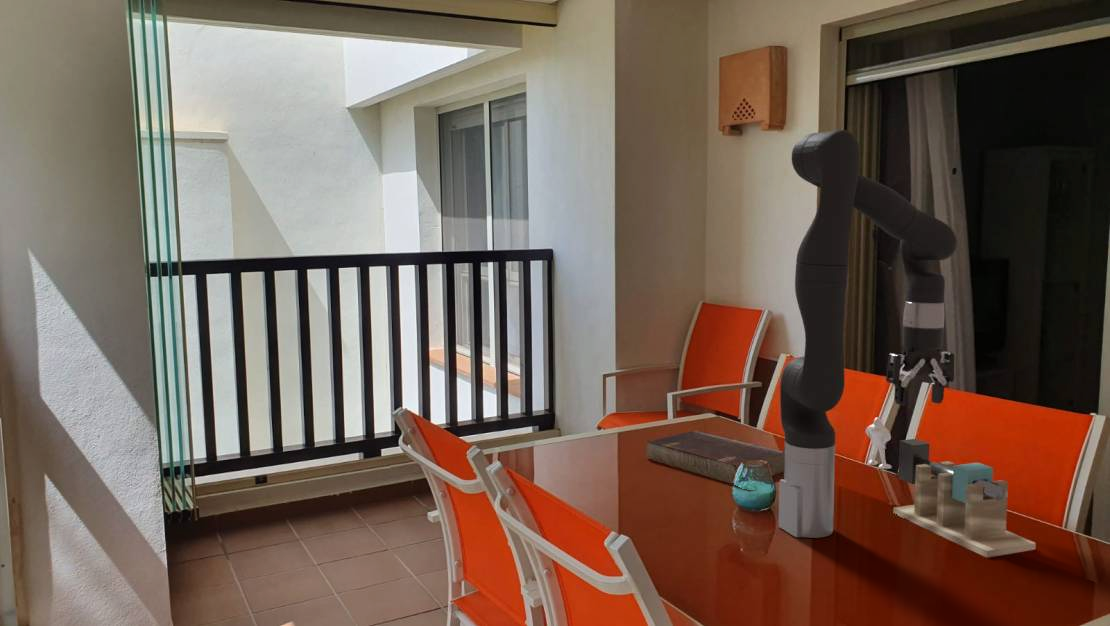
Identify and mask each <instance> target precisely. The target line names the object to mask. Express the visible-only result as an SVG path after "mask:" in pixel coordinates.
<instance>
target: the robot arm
mask: <svg viewBox="0 0 1110 626" xmlns="http://www.w3.org/2000/svg"><path fill="white" fill-rule="evenodd" d="M861 158H862V157H861V148H860V143H859V142H858V139H857V137H856V136H855V135H854V134H853V132H850V131H849V130H846V129H845V130H844V129H839V130H837V129H835V130H829V131H822V132H821V131H820V132H814V133H813V132H812V133H809V134H806V135H804V136H802V137H800V138H799V139H798V140H797V141H796V143H795V144H794V146H793V147H792V152H791V163H792V164H791V165H792V166H793V170H794V171H795V173H796V175H798V177H800V178H801V179H802V180H804V181H806V182H807V183H809V184H811V185H813V186H815V187H818V188H819V200H818V201H819V202H818V207H817V210H816V213H815V216H814V217H813V220H812V222H811V224H810V225H809V227H808V230H807V231H806V232H805V235H804V237H803V239H802V241H801V243H800V245H799V247H798V251H797V253H796V259H795V260H796V263H795V274H794V275H795V277H794V291H795V299H796V302H797V305H798V310H799V312H800V315H801V319H802V324H803V329H804V337H805V338H804V339H805V341H804V355H803V356H799V357H796V358H794V359H792V360H791V361H789V362H788V363H787V364H786V366H785V367H784V368H783V371H782V374H781V377H780V387H779V389H780V391H779V393H780V396H779V399H780V400H779V401H780V422H781V427H782V430H783V432H784V472H783V478H782V479H779V481H778V482H779V484H778V485H779V489H778V492H779V493H778V528H780V529H782V530H783V531H785V532H787V533H788V534H789V535H791V536H793V537H795V538H814V539H819V538H825V537H829V536H830V535H831V536H832V534H833V532H834V506H835V505H834V501H835V499H834V498H835V497H834V496H835V495H834V494H835V464H836V463H835V457H836V456H835V455H836V454H835V453H836V431H835V429H834V427H833V425H832V424H831V422H830V421H829V418H828V416H827V412H829V411H832V410H833V409H835V407H836V406H837V405H838V404H839V403H840V401H841V399H842V396H843V394H844V391H845V380H846V379H845V358H844V357H845V356H844V330H845V329H844V328H845V313H846V312H845V311H846V297H847V295H846V294H847V285H848V276H849V275H848V274H849V273H848V272H849V252H850V251H849V249H850V240H851V239H850V237H851V227H852V220H853V219H852V218H853V211H854V210H853V209H855V210H856V211H858V212H859V213H861V214H862V215H863V216H865V217H866V218H867V219H869V220H870V221H871V222H872V223H874V224H875V225H876V226H877V227H879V228H880V229H881V230H882V231H884V232H885V233H886V234H888V236H891V237H892V238H895V239H896V240H900V241H899V242H900V244H899V252H900V256H901V262H902V266H903V270H904V271H903V272H904V274H905V278H906V286H905V287H906V288H905V289H906V290H905V291H906V292H905V304H904V309H903V319H902V320H903V321H902V322H903V323H902V338H901V339H902V340H901V341H902V342H901V345H902V347H903V350H902V354H900V353H899V354H897V353H892V352H890V353H889V354H888V359H887V365H886V366H887V367H886V378H885V379H886V380H885V381H886V383H890V384H892V385H894V397H893V398H894V401H895V403H896V405H899V406H906V403H907V389H908V387H907V384H909V382H910V381H911V380H912V379H914V378H915V376H921V375H926V376H929V378H931V380H932V382H933V383H932V384H931V385H932V386H931V403H934V404H942V402H943V401H944V397H945V386H946V384H947V383H953V382H954V381H955V354H954V353H953V352H950V351H942V352H941V349H943V345H944V332H945V331H944V329H945V328H944V327H945V289H946V288H945V287H946V284H945V283H946V281H945V277H944V275H943V274H941V273H939V272H936V271H934V270H932V268H931V266H930V265H931V264H930V261H944V260H947V259H949V258H950V257H952V256H953V255H954V253H955V251H956V250H957V245H958V241H957V237H956V234H955V232H954V231H953V229H952V227H950V226H949V225H948V224H947V223H945V222H944V221H941V220H940V219H939V218H937V217H935V216H932V215H930V214H928V213H926V212H923V211H922V210H920V209H917V207H916V206H914V204H912V203H911V202H910V201H909V200H907V199H906V198H905V197H903V195H901V194H900V193H899V192H897V191H896V190H894V189H892V188H891V187H889V186H887V185H884V184H883V183H880V182H878V181H875V180H874V179H871V178H869V177H867V176H864V175H862V174H861V173H860V168H861ZM939 363H940V366H939ZM902 364H903V365H902Z"/></svg>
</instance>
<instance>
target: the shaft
mask: <svg viewBox="0 0 1110 626" xmlns="http://www.w3.org/2000/svg"><path fill="white" fill-rule="evenodd" d="M898 444H899V446H898V452H899V453H898V475H897V477H898V479H899V480H901V481H903V482H906V483H909V484H911V485H915V478H916V465H922V464H927V465H929V466H931V476H937V477H938V474H941V473H950V474H953V469H951V468H948V467H945V466H943V465H940V464H939V463H936V462H934V461H931V460H930V443H929V442H927V441H924V440H920V439H917V438H909V439H902V440H901V439H900V440H899V443H898ZM975 483H977V484H980V485H982V486H983V495H986V496H989V497H991V498H994V499H996V500H1002V499H1003V498H1004V497H1005V494H1006V491H1005V489H1004V488H1002V487H1000V486H997V485H994V484H991V483H989V482H986V481H983V480H976V481H973V484H975Z"/></svg>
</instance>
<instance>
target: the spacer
mask: <svg viewBox="0 0 1110 626" xmlns="http://www.w3.org/2000/svg"><path fill="white" fill-rule="evenodd" d="M993 477H994V467H992V466H989V465H986V464H984V463H980V462H971V463H965V464H963V463H962V464H955V466H953V487H952V498H954V499H956V500H959V501H961V502H964V503H966V486H967V485H968V484H973V481H976V480H983V481H986V482H989V483H991V481H994V479H993ZM984 496H986V495H983V497H984Z"/></svg>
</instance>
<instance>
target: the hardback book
mask: <svg viewBox="0 0 1110 626" xmlns="http://www.w3.org/2000/svg"><path fill="white" fill-rule="evenodd" d="M784 452H785V450H779V449H775V448H771V447H766V446H763V445H759V444H755V443H749V442H745V441H741V440H737V439H733V438H728V437H725V436H720V435H718V434H717V435H716V434H713V433H707V432H705V431H704V432H703V431H700V430H692V431H687V432H683V433H679V434H674V435H670V436H666V437H661V438H656V439H652V440H648V441H646V459H647V458H649V459H653V460H656V461H660V462H663V463H666V464H669V465H672V466H671V467H673V466H675V467H674V468H676V467H679V468H682V469H681V470H683V469H685V470H684V471H686V470H687V472H690V471H691V472H690V473H693V472H694V474H697V473H698V474H697V475H701V476H704V477H708V478H711V479H715V480H718V481H722V482H725V483H727V484H732V482H733V479H734V477H735V474H736V472H737V469H738V467H739V466H740V464H741V462H742V461H743V460H764V461H767V462H768V464H769V467H770V469H771V472H772V474H773V475H772V476H774V475H775V476H776V475H777V474H782V473H784ZM666 464H665V465H666ZM669 465H668V466H669ZM679 468H678V469H679ZM732 485H733V484H732Z"/></svg>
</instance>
